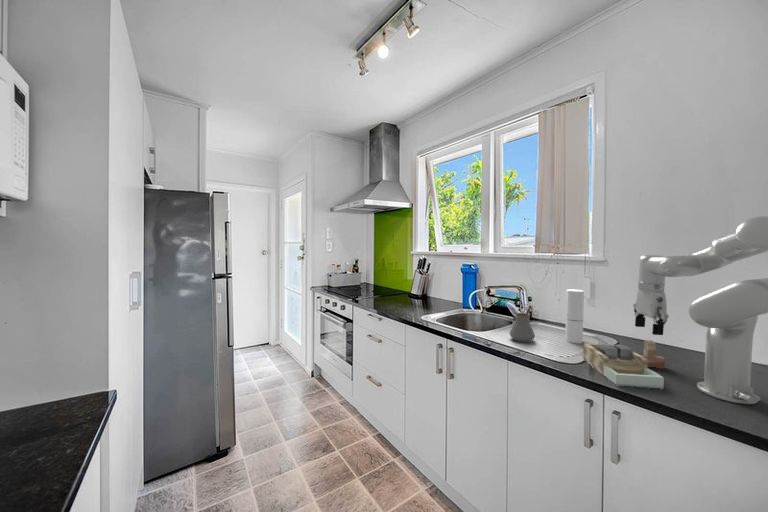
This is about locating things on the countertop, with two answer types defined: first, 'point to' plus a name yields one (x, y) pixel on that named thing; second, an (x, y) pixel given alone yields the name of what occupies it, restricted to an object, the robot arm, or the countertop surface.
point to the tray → (635, 378)
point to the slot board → (613, 361)
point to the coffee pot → (522, 328)
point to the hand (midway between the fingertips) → (648, 330)
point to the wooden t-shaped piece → (652, 355)
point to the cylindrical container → (574, 315)
